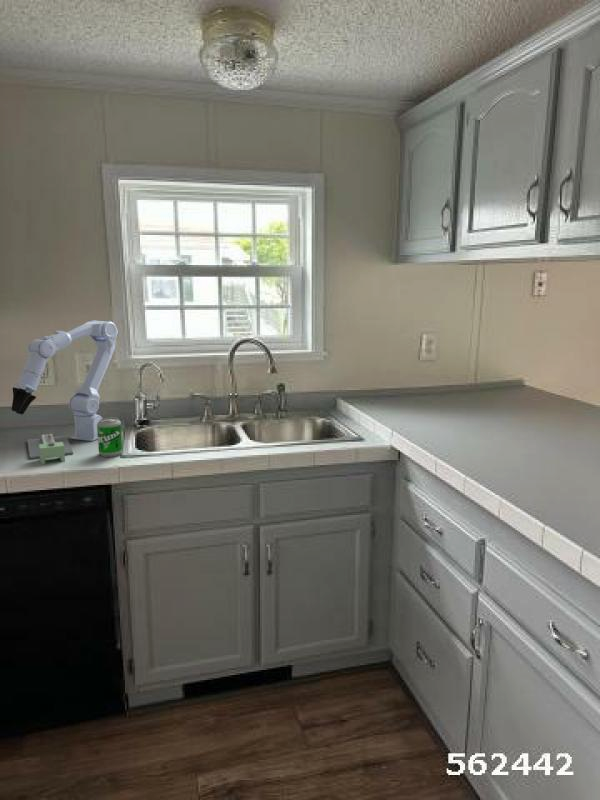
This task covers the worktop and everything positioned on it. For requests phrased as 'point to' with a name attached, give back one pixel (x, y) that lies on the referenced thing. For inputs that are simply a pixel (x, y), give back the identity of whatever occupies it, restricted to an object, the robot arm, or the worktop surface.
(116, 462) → the worktop surface
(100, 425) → the soda can
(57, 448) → the module
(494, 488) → the worktop surface
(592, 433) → the worktop surface
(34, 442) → the board
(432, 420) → the worktop surface
